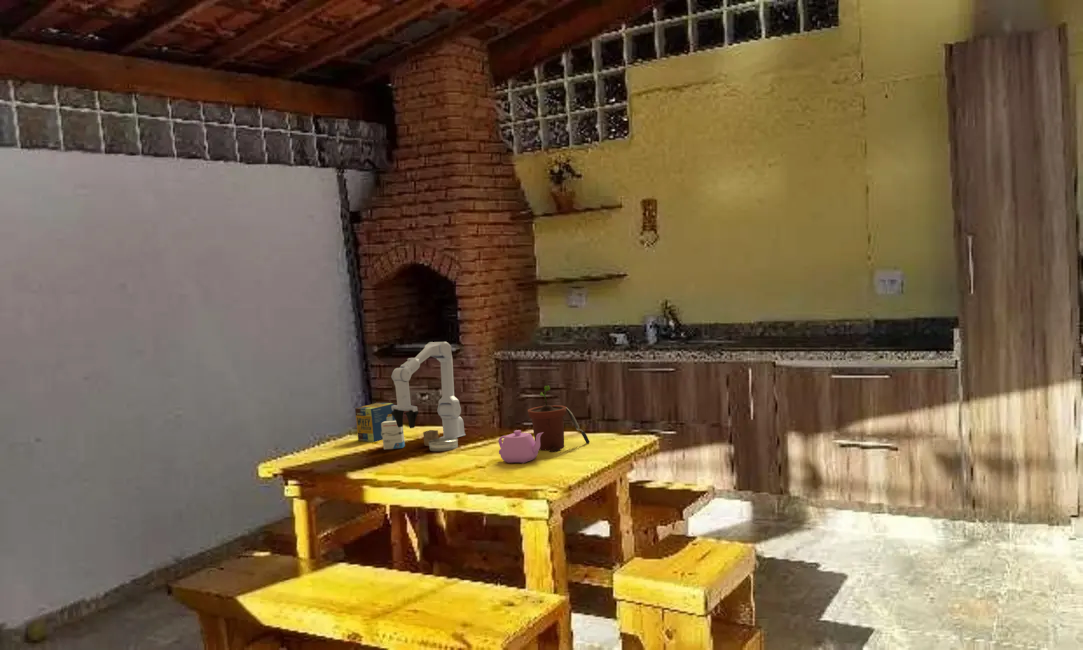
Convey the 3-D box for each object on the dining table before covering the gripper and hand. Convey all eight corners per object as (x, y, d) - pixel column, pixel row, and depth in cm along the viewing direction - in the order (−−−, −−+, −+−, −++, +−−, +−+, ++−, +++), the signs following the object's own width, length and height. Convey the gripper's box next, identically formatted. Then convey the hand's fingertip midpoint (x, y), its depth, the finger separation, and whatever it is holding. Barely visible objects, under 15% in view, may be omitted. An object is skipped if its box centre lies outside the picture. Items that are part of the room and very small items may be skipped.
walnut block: (431, 443, 390) (430, 430, 390) (439, 443, 387) (437, 430, 387) (424, 445, 386) (423, 432, 386) (431, 446, 384) (430, 432, 383)
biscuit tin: (443, 444, 386) (442, 436, 386) (464, 446, 378) (463, 438, 378) (423, 450, 376) (422, 442, 376) (444, 452, 368) (443, 444, 368)
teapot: (491, 464, 338) (488, 434, 337) (507, 456, 350) (505, 427, 349) (538, 465, 329) (536, 434, 329) (553, 457, 341) (550, 427, 341)
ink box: (405, 446, 389) (402, 419, 388) (402, 448, 384) (399, 421, 383) (386, 447, 390) (383, 420, 389) (383, 449, 385) (380, 422, 384)
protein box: (357, 441, 410) (354, 408, 409) (381, 434, 423) (378, 402, 422) (373, 442, 404) (370, 408, 403) (397, 435, 417) (394, 402, 416)
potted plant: (543, 442, 372) (538, 383, 370) (590, 442, 362) (585, 382, 361) (523, 451, 356) (518, 390, 355) (572, 452, 347) (567, 389, 345)
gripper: (384, 396, 378) (388, 428, 379) (407, 398, 369) (410, 430, 370) (397, 394, 384) (400, 425, 385) (420, 395, 374) (423, 426, 375)
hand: (406, 427), depth 378 cm, fingers open, 7 cm apart
